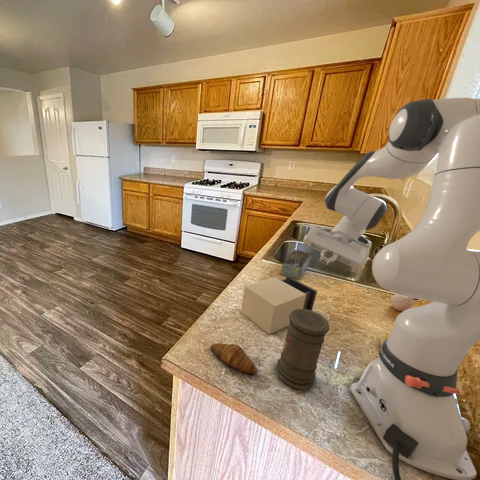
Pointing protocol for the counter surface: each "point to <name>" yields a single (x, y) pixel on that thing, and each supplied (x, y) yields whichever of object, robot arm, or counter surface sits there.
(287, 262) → the translucent blue-gray box
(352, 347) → the counter surface
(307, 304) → the angle bracket
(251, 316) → the beige rectangular block
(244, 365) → the croissant
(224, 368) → the counter surface
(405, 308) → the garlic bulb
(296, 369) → the container
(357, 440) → the counter surface
